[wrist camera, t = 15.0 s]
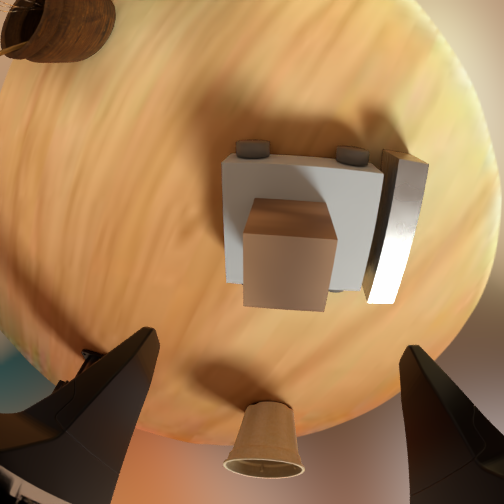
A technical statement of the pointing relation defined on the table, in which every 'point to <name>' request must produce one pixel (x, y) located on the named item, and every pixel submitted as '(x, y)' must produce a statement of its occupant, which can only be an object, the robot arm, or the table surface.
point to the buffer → (394, 224)
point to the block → (288, 255)
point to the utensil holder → (56, 29)
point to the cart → (304, 189)
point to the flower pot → (266, 443)
